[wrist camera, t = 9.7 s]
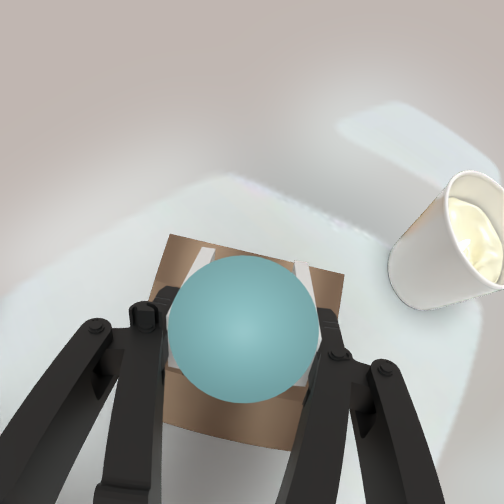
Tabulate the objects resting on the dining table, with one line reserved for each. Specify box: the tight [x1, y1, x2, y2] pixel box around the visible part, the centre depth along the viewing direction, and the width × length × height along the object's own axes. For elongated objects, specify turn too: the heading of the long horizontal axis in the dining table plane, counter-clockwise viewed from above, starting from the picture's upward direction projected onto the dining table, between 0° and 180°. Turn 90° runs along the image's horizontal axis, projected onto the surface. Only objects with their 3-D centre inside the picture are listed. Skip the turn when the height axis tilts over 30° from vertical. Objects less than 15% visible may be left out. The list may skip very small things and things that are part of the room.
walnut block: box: [148, 234, 344, 451], centre depth 24 cm, size 14×14×5 cm
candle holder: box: [388, 170, 504, 311], centre depth 24 cm, size 10×10×12 cm
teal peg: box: [168, 255, 319, 403], centre depth 15 cm, size 4×4×12 cm
